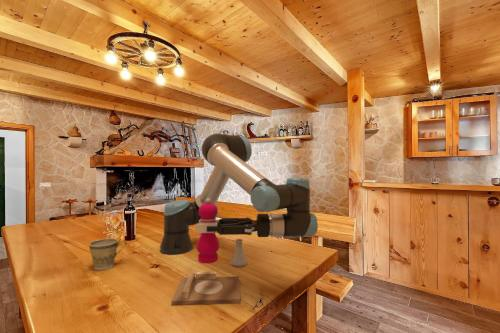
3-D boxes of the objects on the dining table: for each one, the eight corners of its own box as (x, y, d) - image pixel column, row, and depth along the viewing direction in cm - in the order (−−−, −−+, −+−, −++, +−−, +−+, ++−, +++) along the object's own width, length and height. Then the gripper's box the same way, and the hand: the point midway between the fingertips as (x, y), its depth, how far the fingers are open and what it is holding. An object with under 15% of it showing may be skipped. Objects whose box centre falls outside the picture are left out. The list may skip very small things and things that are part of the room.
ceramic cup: (87, 274, 90) (87, 247, 90) (90, 264, 99) (90, 240, 99) (126, 267, 96) (126, 242, 96) (126, 259, 105) (126, 236, 105)
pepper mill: (198, 256, 82) (198, 197, 82) (219, 255, 82) (219, 196, 82) (195, 264, 75) (195, 199, 75) (218, 264, 75) (218, 199, 75)
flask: (250, 261, 103) (250, 238, 103) (244, 268, 96) (244, 243, 96) (234, 259, 105) (234, 236, 106) (227, 266, 99) (227, 241, 99)
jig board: (171, 305, 70) (171, 294, 70) (182, 281, 85) (182, 272, 85) (240, 303, 72) (240, 292, 72) (239, 279, 87) (239, 270, 87)
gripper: (273, 245, 71) (192, 246, 69) (265, 229, 89) (201, 230, 87) (273, 219, 71) (192, 220, 69) (265, 209, 89) (201, 209, 87)
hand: (197, 226), depth 78 cm, fingers closed on pepper mill, 5 cm apart
